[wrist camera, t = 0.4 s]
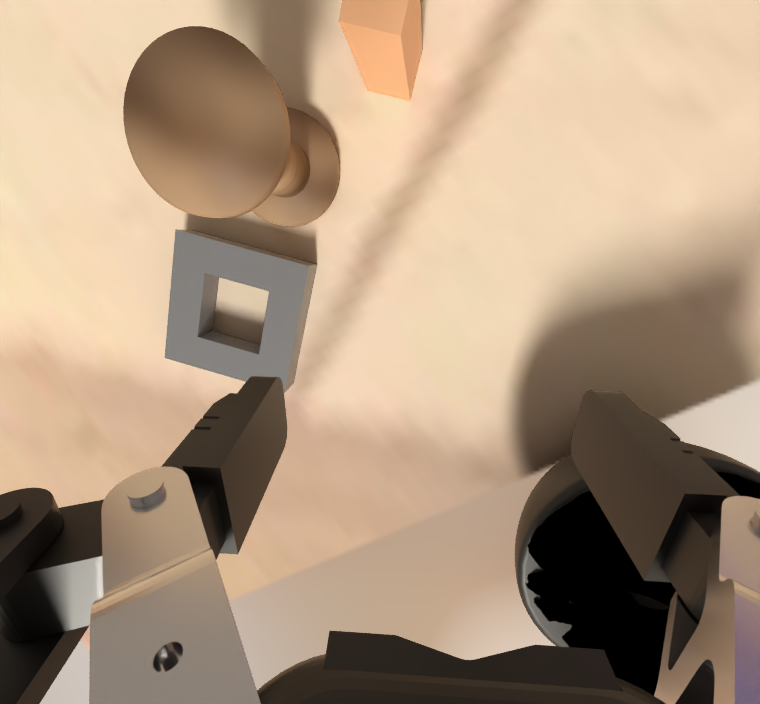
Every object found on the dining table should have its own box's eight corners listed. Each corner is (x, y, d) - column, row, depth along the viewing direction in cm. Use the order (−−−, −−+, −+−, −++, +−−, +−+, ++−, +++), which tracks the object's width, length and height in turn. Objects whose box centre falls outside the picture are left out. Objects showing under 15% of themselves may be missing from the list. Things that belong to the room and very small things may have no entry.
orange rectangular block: (378, 39, 29) (353, -60, 20) (422, 49, 29) (418, -45, 20) (367, 90, 30) (338, 20, 21) (410, 101, 30) (400, 35, 21)
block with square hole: (192, 230, 35) (175, 229, 33) (317, 264, 35) (308, 266, 32) (181, 350, 39) (164, 357, 36) (293, 383, 38) (284, 392, 36)
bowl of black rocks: (489, 565, 41) (535, 815, 23) (503, 393, 36) (578, 545, 18) (692, 583, 39) (919, 879, 21) (740, 401, 33) (1106, 587, 15)
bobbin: (246, 99, 32) (127, 7, 19) (350, 126, 31) (297, 49, 19) (232, 212, 34) (119, 194, 22) (327, 237, 34) (268, 235, 21)
